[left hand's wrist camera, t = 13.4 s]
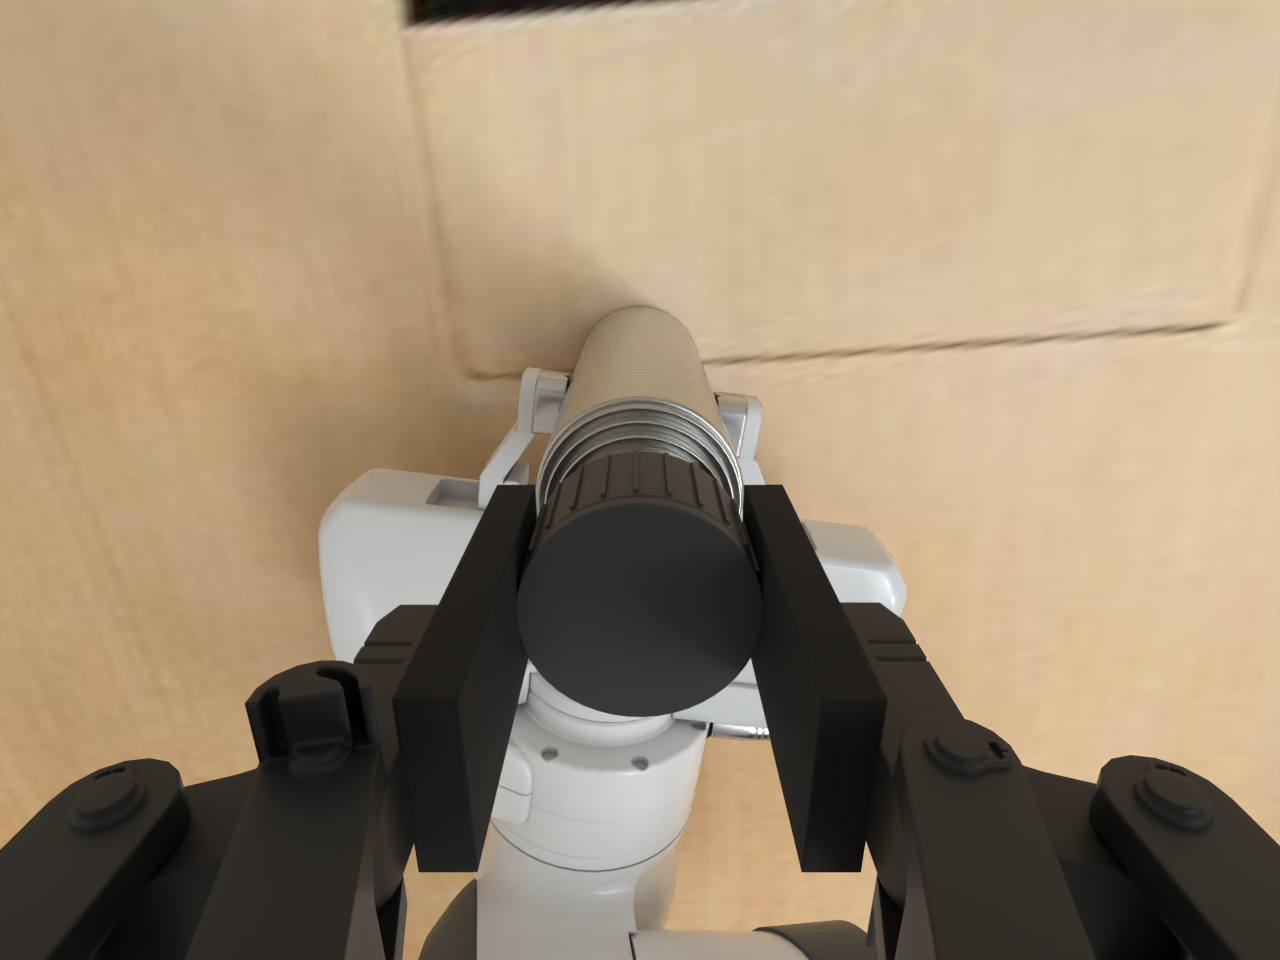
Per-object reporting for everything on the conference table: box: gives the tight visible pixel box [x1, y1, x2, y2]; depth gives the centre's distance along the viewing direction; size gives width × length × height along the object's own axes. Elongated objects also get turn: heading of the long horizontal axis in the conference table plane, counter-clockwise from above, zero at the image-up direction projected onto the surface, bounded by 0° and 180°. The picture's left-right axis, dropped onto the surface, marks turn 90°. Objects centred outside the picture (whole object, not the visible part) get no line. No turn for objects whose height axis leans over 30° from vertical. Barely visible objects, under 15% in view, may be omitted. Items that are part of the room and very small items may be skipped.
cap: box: [517, 450, 763, 717], centre depth 13 cm, size 4×4×3 cm
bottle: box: [535, 306, 744, 516], centre depth 21 cm, size 5×5×19 cm
